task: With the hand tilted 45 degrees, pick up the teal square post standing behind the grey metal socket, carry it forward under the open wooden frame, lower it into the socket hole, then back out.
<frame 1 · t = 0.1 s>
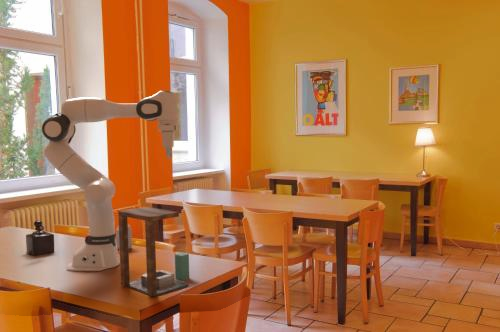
hand: (169, 157, 220), 48 cm above the table, tool pointing down, fingers open, 8 cm apart
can: (124, 249, 250), on the table
post: (182, 278, 199), on the table
socket: (158, 285, 190), on the table
open wooden frame: (158, 285, 190), resting on socket
black block with knob: (42, 254, 243), on the table
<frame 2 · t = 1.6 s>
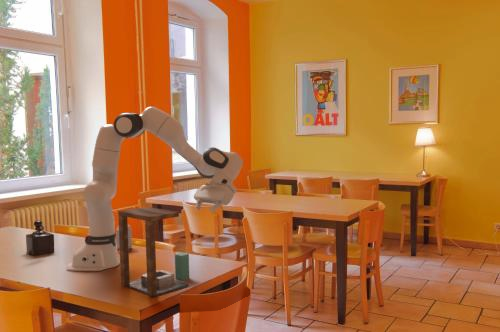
hand: (203, 210, 206), 26 cm above the table, tool tilted 45°, fingers open, 8 cm apart
nothing on the table moved.
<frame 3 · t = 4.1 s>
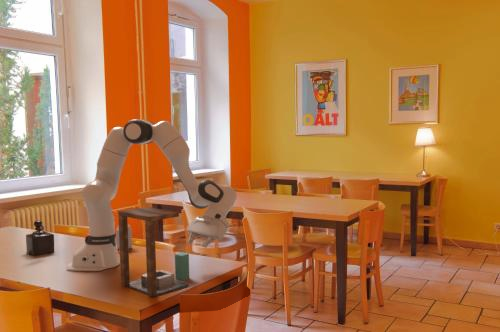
hand: (196, 244, 203), 12 cm above the table, tool tilted 45°, fingers open, 8 cm apart
nothing on the table moved.
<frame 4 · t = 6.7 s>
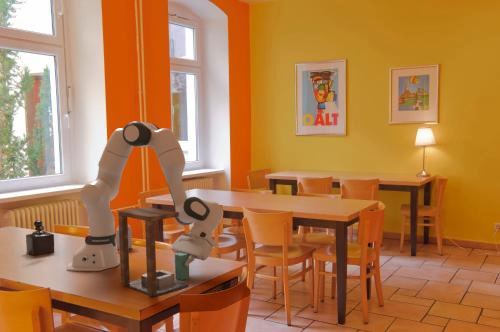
hand: (180, 264, 198), 6 cm above the table, tool tilted 45°, fingers closed on post, 4 cm apart
post: (182, 278, 199), on the table, touching gripper
everything else where it was.
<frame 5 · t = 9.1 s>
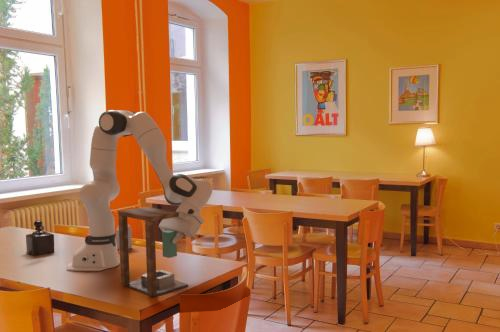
hand: (168, 241, 193), 16 cm above the table, tool tilted 45°, fingers closed on post, 4 cm apart
post: (169, 256, 194), point 10 cm above the table, touching gripper
everything else where it was.
when the fingers open (8 cm above the table, at t = 11.7 s): post drops 1 cm, resting on socket.
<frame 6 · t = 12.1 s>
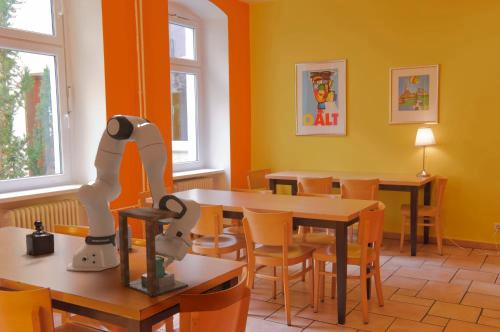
hand: (156, 265, 189), 8 cm above the table, tool tilted 45°, fingers open, 8 cm apart
post: (157, 283, 190), point 1 cm above the table, touching socket
everything else where it was.
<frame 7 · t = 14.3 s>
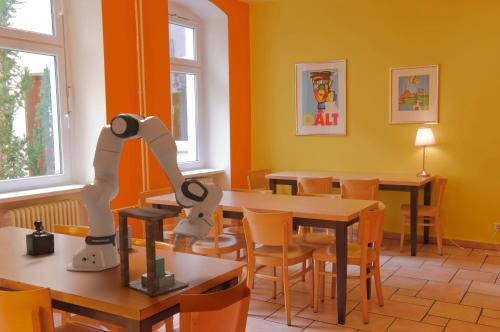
hand: (181, 246, 198), 13 cm above the table, tool tilted 40°, fingers open, 8 cm apart
nothing on the table moved.
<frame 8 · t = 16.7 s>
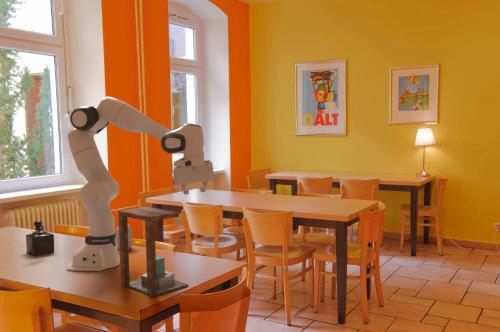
hand: (194, 193, 210), 33 cm above the table, tool pointing down, fingers open, 8 cm apart
nothing on the table moved.
at the end: post 0.1 cm off-centre on the socket, point 0.8 cm above the socket's base; post tilted 0°; the gripper is holding nothing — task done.
